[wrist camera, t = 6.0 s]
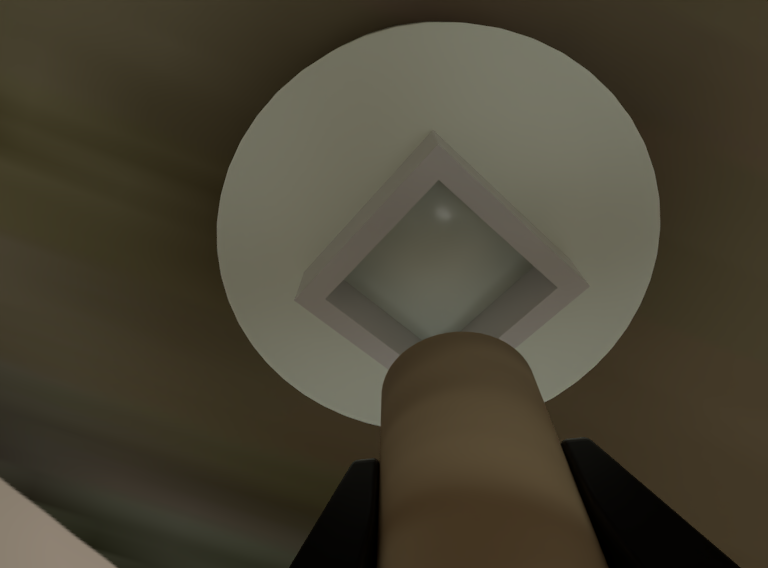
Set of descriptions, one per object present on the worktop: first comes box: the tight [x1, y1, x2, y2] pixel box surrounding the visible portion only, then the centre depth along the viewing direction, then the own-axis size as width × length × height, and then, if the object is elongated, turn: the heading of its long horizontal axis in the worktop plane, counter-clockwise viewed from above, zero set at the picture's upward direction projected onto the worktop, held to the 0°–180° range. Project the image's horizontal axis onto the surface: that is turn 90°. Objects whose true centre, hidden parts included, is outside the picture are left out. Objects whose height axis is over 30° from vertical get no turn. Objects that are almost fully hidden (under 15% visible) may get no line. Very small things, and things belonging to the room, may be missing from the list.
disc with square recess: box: [217, 21, 660, 426], centre depth 17 cm, size 13×13×6 cm
